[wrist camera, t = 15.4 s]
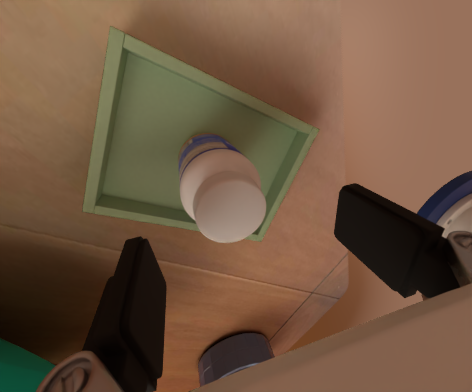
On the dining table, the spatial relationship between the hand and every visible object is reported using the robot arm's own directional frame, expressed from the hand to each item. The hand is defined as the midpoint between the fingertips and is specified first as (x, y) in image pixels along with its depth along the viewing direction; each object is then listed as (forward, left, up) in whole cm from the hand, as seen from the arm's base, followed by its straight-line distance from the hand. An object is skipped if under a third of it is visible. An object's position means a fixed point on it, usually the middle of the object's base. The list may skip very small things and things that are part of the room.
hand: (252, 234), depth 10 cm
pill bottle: (0, 0, -12) cm, 12 cm away
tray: (+1, 0, -12) cm, 12 cm away
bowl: (-16, +33, -12) cm, 39 cm away
